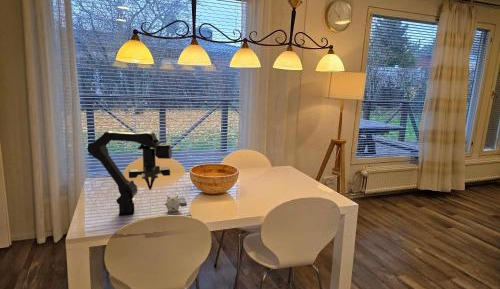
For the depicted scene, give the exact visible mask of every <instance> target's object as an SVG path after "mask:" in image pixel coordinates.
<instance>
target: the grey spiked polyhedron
mask: <svg viewBox="0 0 500 289" xmlns="http://www.w3.org/2000/svg"><path fill="white" fill-rule="evenodd" d="M166 197H167V200H166V201H165V203H164V204H163V205H164V206H165V207H166V209H167V214H169V213H170V212H177V213H179V212H180V211H179V208H180V206H181V205H180V204H182V203H180V201H179V194H178V195H177V194H176V196H168V195H166Z"/></svg>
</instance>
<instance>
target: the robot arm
mask: <svg viewBox="0 0 500 289" xmlns="http://www.w3.org/2000/svg"><path fill="white" fill-rule="evenodd" d="M111 141H116V142H117V141H118V142H120V141H121V142H134V143H137V144H139V146H138V147H137V149H138V150H142V167H143V168H142V170H139V169H138V168H132V169H131V168H130V169H129V170H128V178H129V179H131V180H128V179H127V178H126V177H125V176H124V174H123V173H122V172H121V171H122V170H120V169H119V167H118V166H117V164H116V163H115V161H113V159H112V157H111V156H110V154H109V148H108V147H107V145H108V144H109V143H110V142H111ZM86 150H87V152H88V153H89V154H90V155H91V156H92V157H93V159H96V160H98V161H99V162H100V163H101V165H102V166H103V167H104V168H105V170H106V171H107V173H108V174H109V176H110V178H112V179H113V181H114V183H115V184H116V185H117V189H118V192H119V194H120V196H119V197H117V199H115V200H116V203H117V205H118V210H119V213H118V216H119V217H120V216H121V217H122V216H132V215H134V213H135V202H134V201H133V200H134V198H135V196H136V195H137V194H138V188H137V187H138V186H137V185H136V184H135V182H134V180H132V179H136V178H137V177H139V176H141V179H144V181H145V182H146V185H147V188H148V190H149V191H150V190H152V188H153V185H154V183H155V180H156V179H158V178H159V177H158V176H159V175H162V176H163V177H165V176H166V177H167V176H168V177H169V176H171V170H170V168H169V167H168V166H166V167H165V166H164V167H162V166H160V165H156V158H157V159H158V160H159V159H161V160H162V159H163V160H164V159H165V160H171V159H172V155H173V150H172V147H171V144H170V143H169V144H168V143H167V144H162V143H161V142H160V140H158V138H157V136H156V134H155V132H154V131H151V130H150V131H149V130H147V131H140V132H139V131H138V132H129V131H127V132H126V131H125V132H124V131H113V130H108V131H105V132H104V133H103V134H102V135H100V136H99V137H98V138H97V139H96V140H95V141H93V142H90V143H89V144H88V145H87V149H86Z"/></svg>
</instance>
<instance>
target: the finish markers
mask: <svg viewBox="0 0 500 289" xmlns="http://www.w3.org/2000/svg"><path fill="white" fill-rule="evenodd" d="M178 199H179V201H180V203H182V204H180V206H187V201H186V199H185V196H182V197H178ZM184 215H186V216H191V217H192V213H191V212H190V211H188V212H183V216H184Z"/></svg>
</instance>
